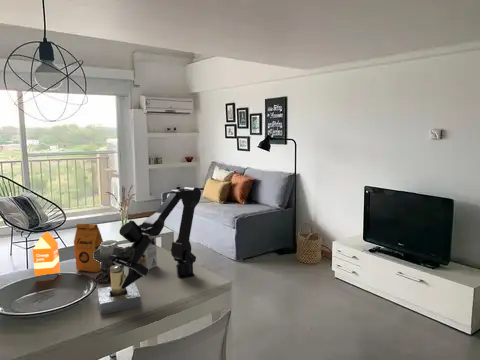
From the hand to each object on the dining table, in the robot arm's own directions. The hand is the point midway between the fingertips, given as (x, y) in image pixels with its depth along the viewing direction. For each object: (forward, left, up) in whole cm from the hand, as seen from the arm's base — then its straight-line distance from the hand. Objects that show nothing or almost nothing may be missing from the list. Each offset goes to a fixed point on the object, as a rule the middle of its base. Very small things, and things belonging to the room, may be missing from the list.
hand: (115, 285), depth 141 cm
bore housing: (-1, -1, -7) cm, 7 cm away
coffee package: (+7, -43, -8) cm, 44 cm away
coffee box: (-17, -36, -8) cm, 40 cm away
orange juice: (+25, -41, -8) cm, 48 cm away
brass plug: (-1, -1, -7) cm, 7 cm away
